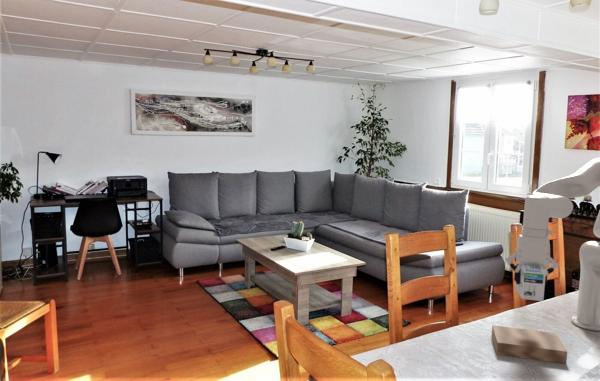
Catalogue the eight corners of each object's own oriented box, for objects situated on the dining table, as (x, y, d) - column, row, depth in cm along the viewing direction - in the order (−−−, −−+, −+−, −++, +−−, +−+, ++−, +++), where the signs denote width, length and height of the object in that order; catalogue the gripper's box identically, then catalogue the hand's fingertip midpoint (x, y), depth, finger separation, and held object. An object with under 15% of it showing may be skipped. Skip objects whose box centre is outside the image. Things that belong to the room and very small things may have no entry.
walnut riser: (555, 344, 157) (556, 333, 157) (566, 363, 144) (567, 351, 143) (491, 336, 163) (492, 325, 162) (496, 354, 149) (497, 342, 149)
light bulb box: (543, 301, 151) (547, 269, 150) (521, 299, 153) (524, 267, 151) (535, 291, 161) (538, 261, 160) (514, 289, 163) (517, 259, 162)
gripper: (561, 233, 155) (556, 284, 158) (505, 228, 161) (500, 278, 163) (566, 237, 148) (561, 291, 150) (507, 232, 153) (503, 284, 156)
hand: (529, 284), depth 156 cm, fingers closed on light bulb box, 7 cm apart
